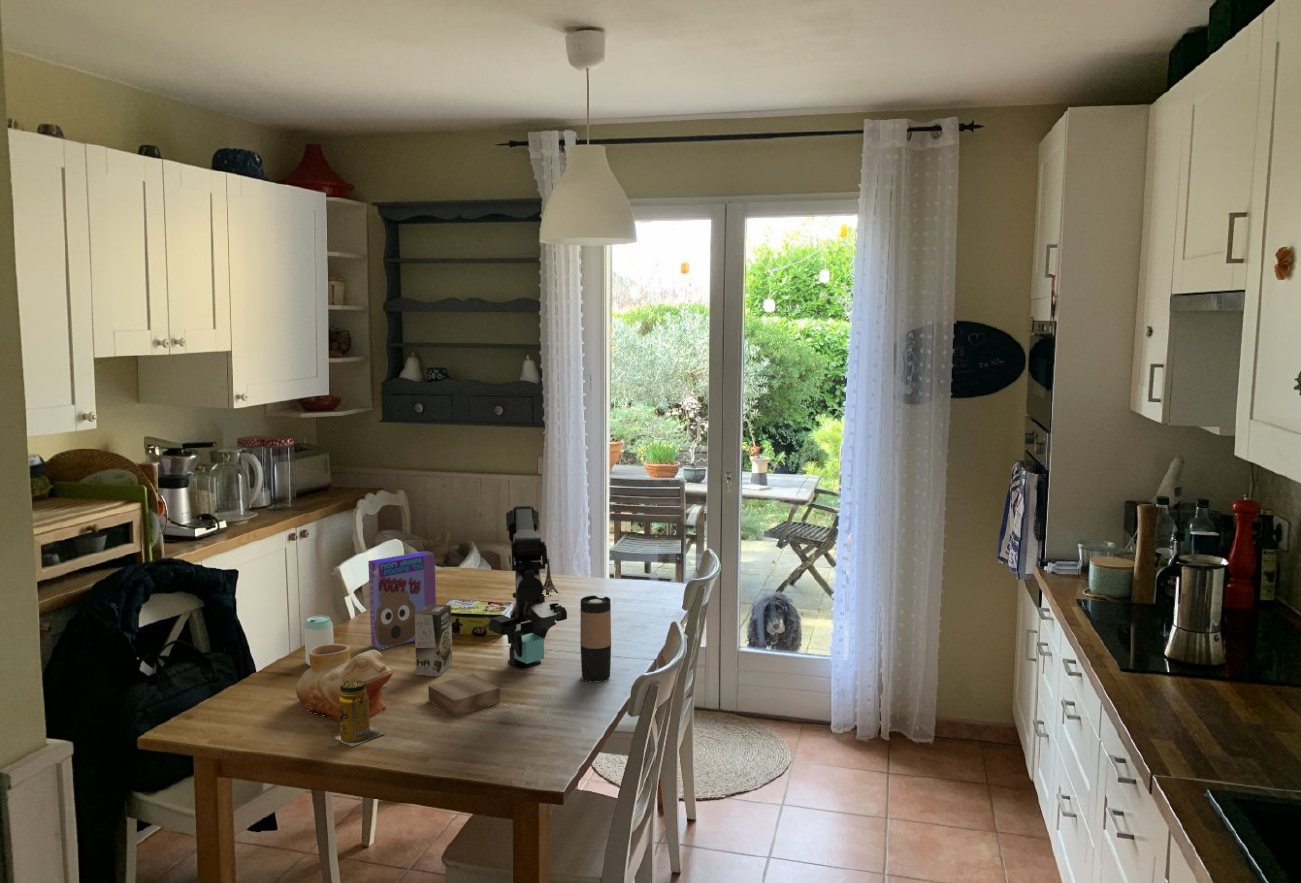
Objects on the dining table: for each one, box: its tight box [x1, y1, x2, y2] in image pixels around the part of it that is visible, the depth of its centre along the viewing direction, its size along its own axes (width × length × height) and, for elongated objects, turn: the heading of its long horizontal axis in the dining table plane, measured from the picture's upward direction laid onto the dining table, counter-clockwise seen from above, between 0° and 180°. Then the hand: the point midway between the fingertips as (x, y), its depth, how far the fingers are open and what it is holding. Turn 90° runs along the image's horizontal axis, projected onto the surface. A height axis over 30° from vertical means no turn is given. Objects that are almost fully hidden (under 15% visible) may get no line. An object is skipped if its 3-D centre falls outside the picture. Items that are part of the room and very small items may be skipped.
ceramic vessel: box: [295, 643, 394, 723], centre depth 225 cm, size 14×26×15 cm, turn 58°
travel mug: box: [579, 595, 612, 683], centre depth 245 cm, size 8×8×20 cm
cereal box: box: [367, 550, 437, 650], centre depth 272 cm, size 17×5×24 cm, turn 131°
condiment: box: [334, 680, 386, 747], centre depth 211 cm, size 7×8×12 cm
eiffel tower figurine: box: [542, 557, 559, 595], centre depth 319 cm, size 15×10×13 cm
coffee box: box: [414, 604, 453, 678], centre depth 250 cm, size 9×6×16 cm
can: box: [303, 615, 335, 666], centre depth 255 cm, size 7×7×12 cm
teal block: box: [514, 633, 545, 664], centre depth 231 cm, size 5×5×5 cm
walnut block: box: [427, 673, 501, 717], centre depth 231 cm, size 12×12×4 cm
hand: (529, 654), depth 231 cm, fingers closed on teal block, 5 cm apart
